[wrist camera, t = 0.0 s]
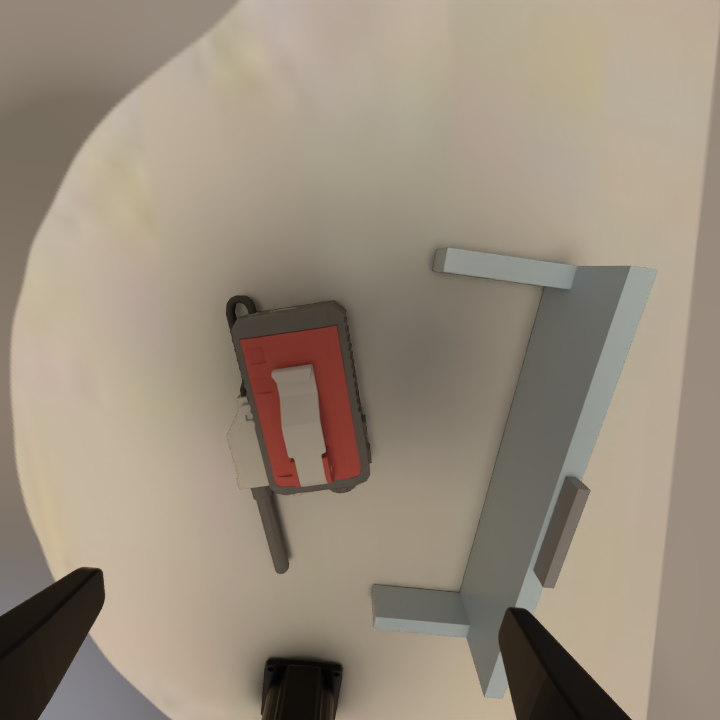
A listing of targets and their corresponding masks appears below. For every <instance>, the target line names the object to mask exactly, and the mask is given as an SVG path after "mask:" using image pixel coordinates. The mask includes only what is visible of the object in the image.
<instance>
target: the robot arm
mask: <svg viewBox="0 0 720 720" xmlns="http://www.w3.org/2000/svg"><path fill="white" fill-rule="evenodd" d="M104 600H105V589H104V578H103V571H102V570H101V569H99V568H91V567H81V568H78V569H76V570H74V571H73V572H71V573H70V574H68V575H66V576H65V577H63V578H61V579H60V580H58V581H57V582H55V583H53V584H52V585H50V586H49V587H47V588H45V589H44V590H42V591H40V592H39V593H37V594H36V595H34V596H33V597H31V598H30V599H28V600H26V601H24V602H23V603H21V604H20V605H18V606H16V607H15V608H13V609H11V610H10V611H8V612H7V613H5V614H3V615H2V616H0V720H38V718H39V717H40V715H41V714H42V712H43V710H44V709H45V707H46V706H47V704H48V703H49V701H50V699H51V698H52V696H53V694H54V692H55V691H56V689H57V687H58V685H59V684H60V682H61V680H62V679H63V677H64V675H65V673H66V672H67V670H68V668H69V666H70V664H71V663H72V661H73V659H74V657H75V655H76V654H77V652H78V650H79V648H80V647H81V645H82V643H83V641H84V640H85V638H86V636H87V634H88V632H89V631H90V629H91V627H92V625H93V624H94V622H95V620H96V618H97V616H98V615H99V613H100V611H101V609H102V607H103V604H104ZM498 642H499V648H500V652H501V656H502V660H503V664H504V668H505V673H506V677H507V681H508V685H509V689H510V693H511V698H512V702H513V706H514V710H515V714H516V718H517V720H632V719H631V718H630V717H629V716H628V715H627V714H626V713H625V712H624V711H623V710H622V709H621V708H620V707H619V706H618V705H617V704H616V702H615V701H614V700H613V699H612V698H611V697H610V696H609V695H608V694H607V693H606V692H605V691H604V690H603V689H602V688H601V687H600V686H599V685H598V683H597V682H596V681H595V680H594V679H593V678H592V677H591V676H590V675H589V674H588V673H587V672H586V671H585V670H584V669H583V668H582V667H581V666H580V664H579V663H578V662H577V661H576V660H575V659H574V658H573V657H572V656H571V655H570V654H569V653H568V652H567V651H566V650H565V649H564V648H563V647H562V645H561V644H560V643H559V642H558V641H557V640H556V639H555V638H554V637H553V636H552V635H551V634H550V633H549V632H548V631H547V630H546V629H545V628H544V626H543V625H542V624H541V623H540V622H539V621H538V620H537V619H536V618H535V617H534V616H533V615H532V614H531V613H530V612H529V611H528V610H527V609H525V608H518V607H508V608H507V609H506V611H505V614H504V617H503V620H502V623H501V626H500V629H499V633H498ZM342 673H343V668H342V667H341V666H340V665H333V664H321V663H309V662H297V661H285V660H273V659H272V660H268V661H267V662H266V665H265V671H264V683H263V695H262V708H261V715H262V720H335V716H336V710H337V704H338V698H339V692H340V686H341V681H342Z"/></svg>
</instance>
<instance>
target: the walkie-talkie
mask: <svg viewBox="0 0 720 720" xmlns="http://www.w3.org/2000/svg"><path fill="white" fill-rule="evenodd" d="M237 303H243V304H245V306H246V307H247V309H248V313H249V314H247V315H245V316H243V317H240V318H238V319H237V318H236V314H235V308H236V304H237ZM345 313H346V310H345V309H344V308H343V307H342V306H340V305H339V304H338V303H337V302H335V301H328V302H321V303H314V304H307V305H301V306H294V307H287V308H280V309H274V310H267V311H260V312H257V310H256V306H255V304H254V302H253V301H252V299H250V298H249V297H247V296H239V295H238V296H234V297H232V298H230V300H229V301H228V302H227V306H226V316H227V320H228V324H229V328H230V333H231V335H232V342H233V343H234V347H235V349H234V350H235V352H236V355H237V361H238V363H239V369H240V371H241V375H242V376H241V377H242V385H241V388H240V392H241V394H240V395H239V396H238V398H237V402H238V406H239V411H238V413H237V416H236V418H235V420H234V422H233V424H232V426H231V428H230V430H229V432H228V434H227V438H228V442H229V446H230V449H231V453H232V456H233V460H234V464H235V467H236V471H237V474H238V477H237V483H238V486H239V489H248V488H251V490H252V494H253V498H254V499H255V500H257V504H258V508H259V511H260V515H261V519H262V523H263V526H264V530H265V534H266V537H267V541H268V545H269V549H270V552H271V556H272V560H273V563H274V567H275V571H276V572H277V573H279V574H283V573H285V572H286V571H287V570H288V568H289V562H288V558H287V554H286V550H285V546H284V542H283V538H282V534H281V530H280V526H279V522H278V518H277V514H276V510H275V507H274V503H273V499H272V495H271V494H272V491H274V492H275V493H276V494H282V495H290V494H293V495H295V496H299V495H302V494H303V493H305V492H312V491H319V490H327V489H330V490H332V492H336V493H345V492H348V491H350V490H352V489H353V488H355V486H356V485H358V484H361V483H363V482H365V481H367V479H368V477H369V476H370V466H369V463H372V461H371V452H370V445H369V443H368V442H367V441H366V435H367V426H366V419H365V415H362V410H361V403H360V398H359V391H358V384H357V383H356V375H355V367H354V359H352V358H353V352H352V351H351V342H350V334H348V330H349V327H348V326H347V317H345ZM352 379H353V380H352Z"/></svg>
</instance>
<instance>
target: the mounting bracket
mask: <svg viewBox="0 0 720 720" xmlns="http://www.w3.org/2000/svg"><path fill="white" fill-rule="evenodd" d="M433 271H436V272H443V273H450V274H458V275H465V276H472V277H479V278H486V279H493V280H500V281H507V282H514V283H521V284H528V285H535V286H542V287H544V291H543V295H542V298H541V302H540V305H539V309H538V313H537V316H536V320H535V323H534V327H533V331H532V334H531V338H530V341H529V345H528V349H527V352H526V356H525V359H524V363H523V367H522V370H521V374H520V377H519V381H518V385H517V388H516V392H515V395H514V399H513V403H512V406H511V410H510V413H509V417H508V421H507V424H506V428H505V431H504V435H503V439H502V442H501V446H500V449H499V453H498V457H497V460H496V464H495V468H494V471H493V475H492V478H491V482H490V486H489V489H488V493H487V496H486V500H485V504H484V507H483V511H482V514H481V518H480V522H479V525H478V529H477V532H476V536H475V540H474V543H473V547H472V550H471V554H470V558H469V561H468V565H467V568H466V572H465V576H464V579H463V583H462V586H461V590H460V593H458V592H447V591H436V590H426V589H415V588H405V587H394V586H384V585H374V587H373V592H372V612H373V629H375V630H387V631H398V632H409V633H421V634H432V635H443V636H454V637H466V638H467V641H468V644H469V647H470V651H471V654H472V657H473V661H474V664H475V668H476V671H477V674H478V678H479V681H480V684H481V688H482V691H483V694H484V697H488V698H500V699H503V697H504V694H505V691H506V689H507V686H508V681H507V677H506V673H505V668H504V664H503V660H502V656H501V652H500V648H499V642H498V633H499V629H500V626H501V623H502V620H503V617H504V614H505V611H506V609H507V608H508V607H518V608H525V609H527V610H528V611H529V612H530V613H531V614H532V615H533V614H534V611H535V609H536V606H537V603H538V600H539V597H540V595H541V592H542V589H543V587H546V588H554V587H555V584H556V581H557V579H558V576H559V573H560V571H561V568H562V565H563V563H564V560H565V557H566V555H567V552H568V549H569V547H570V544H571V541H572V539H573V536H574V533H575V531H576V528H577V525H578V523H579V520H580V517H581V515H582V512H583V509H584V507H585V504H586V501H587V498H588V496H589V493H590V489H589V488H588V487H586V486H585V485H584V484H583V483H582V482H581V481H582V479H583V476H584V473H585V470H586V468H587V465H588V462H589V459H590V457H591V454H592V451H593V448H594V446H595V443H596V440H597V437H598V435H599V432H600V429H601V426H602V423H603V421H604V418H605V415H606V412H607V410H608V407H609V404H610V401H611V399H612V396H613V393H614V390H615V388H616V385H617V382H618V379H619V376H620V374H621V371H622V368H623V365H624V363H625V360H626V357H627V354H628V352H629V349H630V346H631V343H632V341H633V338H634V335H635V332H636V330H637V327H638V324H639V321H640V318H641V316H642V313H643V310H644V307H645V305H646V302H647V299H648V296H649V294H650V291H651V288H652V285H653V283H654V280H655V277H656V274H657V272H658V270H656V269H649V268H642V267H636V266H573V265H566V264H559V263H552V262H545V261H538V260H531V259H525V258H518V257H511V256H504V255H497V254H490V253H483V252H476V251H469V250H462V249H456V248H449V247H447V248H443V249H438V250H436V255H435V261H434V266H433Z"/></svg>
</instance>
